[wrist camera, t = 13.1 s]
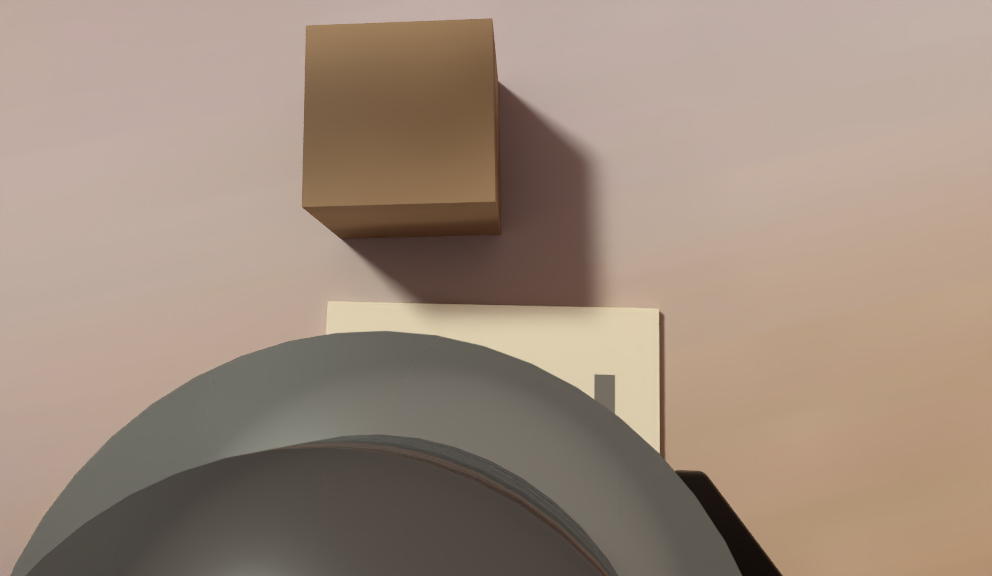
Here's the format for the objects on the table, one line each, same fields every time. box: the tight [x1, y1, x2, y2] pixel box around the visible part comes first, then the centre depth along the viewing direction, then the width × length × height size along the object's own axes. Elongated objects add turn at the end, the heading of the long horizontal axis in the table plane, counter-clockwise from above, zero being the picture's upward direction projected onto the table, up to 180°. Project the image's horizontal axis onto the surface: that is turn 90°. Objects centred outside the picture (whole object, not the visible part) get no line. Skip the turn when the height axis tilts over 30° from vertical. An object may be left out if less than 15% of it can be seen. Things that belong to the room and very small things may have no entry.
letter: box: [326, 301, 660, 454], centre depth 21 cm, size 13×10×1 cm
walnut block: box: [302, 19, 501, 239], centre depth 21 cm, size 5×5×4 cm
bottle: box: [11, 331, 742, 576], centre depth 10 cm, size 6×6×13 cm
